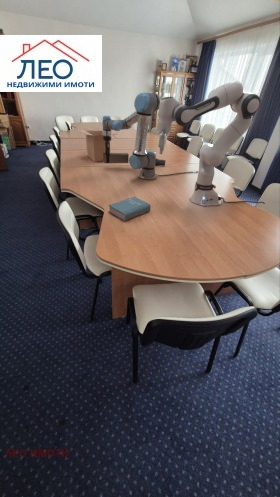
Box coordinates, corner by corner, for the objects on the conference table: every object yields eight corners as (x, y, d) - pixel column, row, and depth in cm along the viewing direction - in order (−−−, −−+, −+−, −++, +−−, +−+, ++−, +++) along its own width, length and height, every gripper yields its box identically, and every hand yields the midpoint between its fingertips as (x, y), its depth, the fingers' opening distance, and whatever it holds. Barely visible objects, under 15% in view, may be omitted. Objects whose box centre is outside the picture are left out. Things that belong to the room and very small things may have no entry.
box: (120, 162, 240) (121, 134, 224) (89, 164, 226) (86, 135, 210) (106, 152, 270) (105, 127, 254) (77, 154, 256) (74, 127, 240)
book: (133, 203, 159) (134, 196, 156) (150, 211, 150) (150, 204, 147) (108, 212, 145) (108, 205, 142) (125, 221, 137) (125, 214, 134)
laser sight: (164, 167, 235) (165, 157, 229) (143, 164, 238) (144, 154, 232) (165, 164, 242) (166, 155, 236) (145, 162, 245) (145, 152, 239)
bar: (103, 163, 212) (103, 154, 207) (103, 161, 216) (103, 153, 211) (128, 163, 218) (128, 154, 213) (127, 161, 222) (127, 153, 217)
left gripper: (112, 137, 195) (112, 164, 209) (109, 133, 208) (110, 159, 222) (104, 137, 193) (104, 164, 207) (101, 133, 207) (102, 159, 221)
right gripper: (168, 131, 127) (165, 156, 135) (170, 126, 143) (167, 149, 152) (157, 130, 128) (155, 155, 136) (160, 125, 144) (158, 148, 152)
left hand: (107, 161), depth 215 cm, fingers closed on bar, 5 cm apart
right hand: (161, 152), depth 144 cm, fingers open, 8 cm apart
